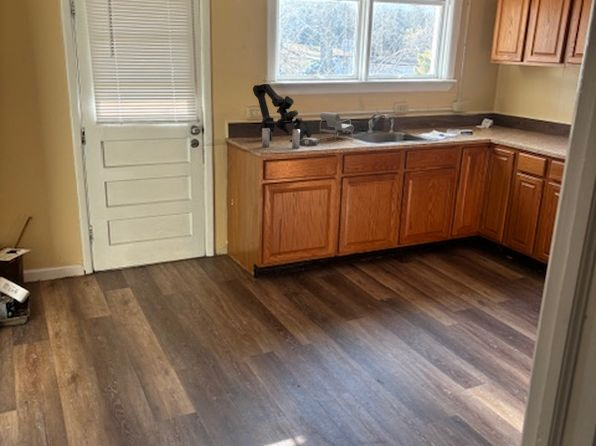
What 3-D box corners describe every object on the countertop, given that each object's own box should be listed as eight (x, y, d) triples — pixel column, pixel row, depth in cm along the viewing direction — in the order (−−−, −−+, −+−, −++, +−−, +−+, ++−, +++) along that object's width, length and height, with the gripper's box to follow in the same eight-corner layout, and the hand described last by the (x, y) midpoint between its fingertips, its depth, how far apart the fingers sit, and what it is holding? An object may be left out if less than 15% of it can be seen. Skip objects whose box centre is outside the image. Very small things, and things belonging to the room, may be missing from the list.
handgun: (311, 135, 420) (309, 121, 413) (300, 148, 410) (297, 133, 402) (309, 135, 421) (306, 120, 414) (298, 147, 411) (295, 133, 403)
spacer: (260, 147, 374) (261, 128, 370) (263, 146, 378) (263, 127, 375) (267, 147, 373) (268, 129, 369) (270, 146, 377) (270, 128, 374)
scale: (297, 144, 387) (297, 139, 386) (303, 141, 401) (303, 136, 400) (315, 146, 384) (315, 140, 383) (320, 143, 398) (320, 137, 397)
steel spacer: (291, 148, 374) (291, 129, 370) (293, 147, 378) (293, 128, 375) (298, 148, 373) (298, 130, 369) (300, 147, 377) (300, 129, 374)
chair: (318, 139, 412) (320, 112, 407) (338, 136, 431) (340, 110, 425) (334, 142, 405) (335, 114, 399) (353, 138, 423) (355, 111, 418)
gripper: (278, 106, 368) (287, 125, 363) (301, 105, 379) (311, 124, 374) (271, 117, 377) (280, 136, 371) (294, 116, 387) (303, 135, 382)
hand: (294, 132), depth 374 cm, fingers open, 9 cm apart
